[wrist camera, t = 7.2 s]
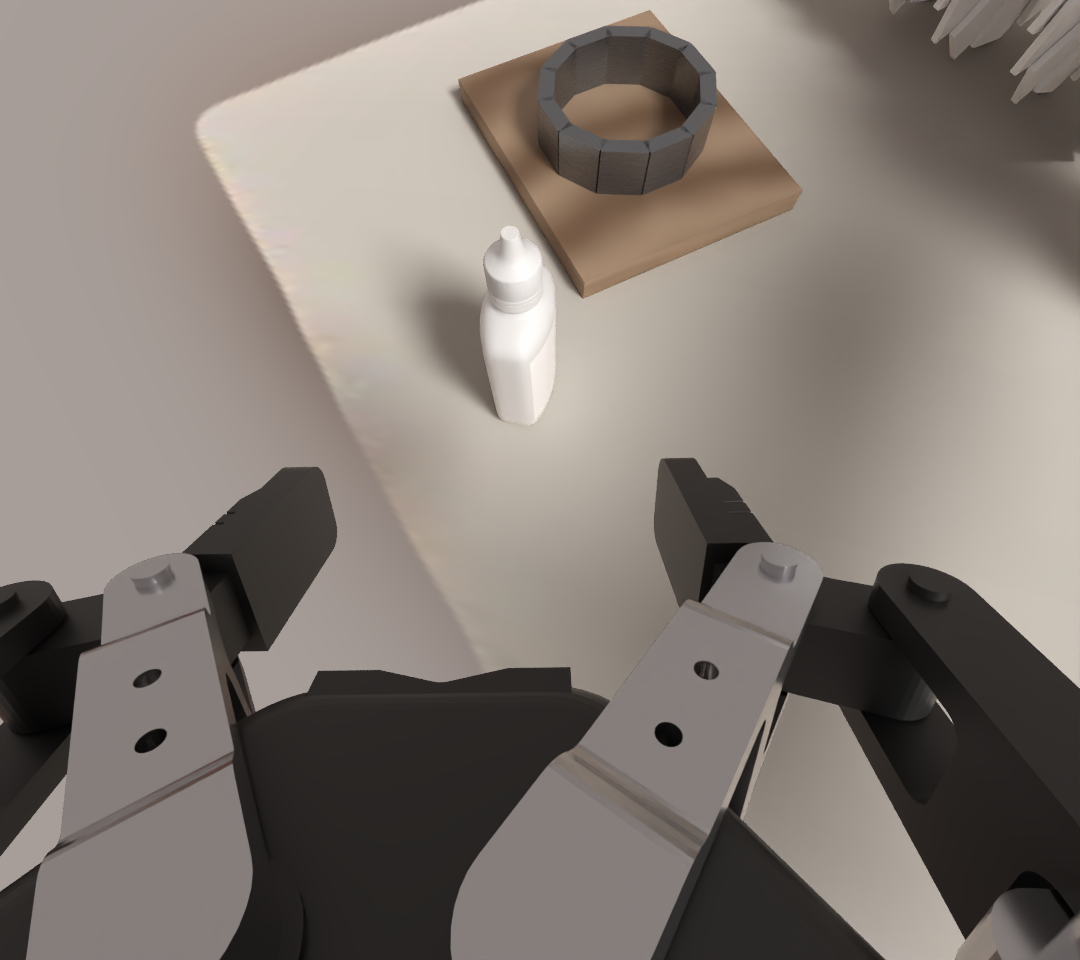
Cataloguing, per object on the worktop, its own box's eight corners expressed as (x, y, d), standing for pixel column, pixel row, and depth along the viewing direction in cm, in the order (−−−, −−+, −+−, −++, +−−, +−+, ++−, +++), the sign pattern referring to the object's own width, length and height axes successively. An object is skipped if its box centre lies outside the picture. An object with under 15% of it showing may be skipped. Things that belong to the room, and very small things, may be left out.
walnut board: (792, 209, 34) (802, 190, 33) (583, 298, 32) (584, 282, 31) (646, 32, 40) (649, 10, 38) (461, 100, 38) (458, 79, 37)
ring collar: (734, 157, 34) (751, 112, 31) (586, 218, 32) (589, 177, 30) (651, 55, 37) (659, 6, 34) (513, 106, 36) (510, 60, 33)
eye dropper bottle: (582, 374, 31) (600, 216, 19) (522, 439, 29) (502, 311, 18) (529, 334, 32) (515, 162, 20) (468, 396, 30) (417, 249, 19)
